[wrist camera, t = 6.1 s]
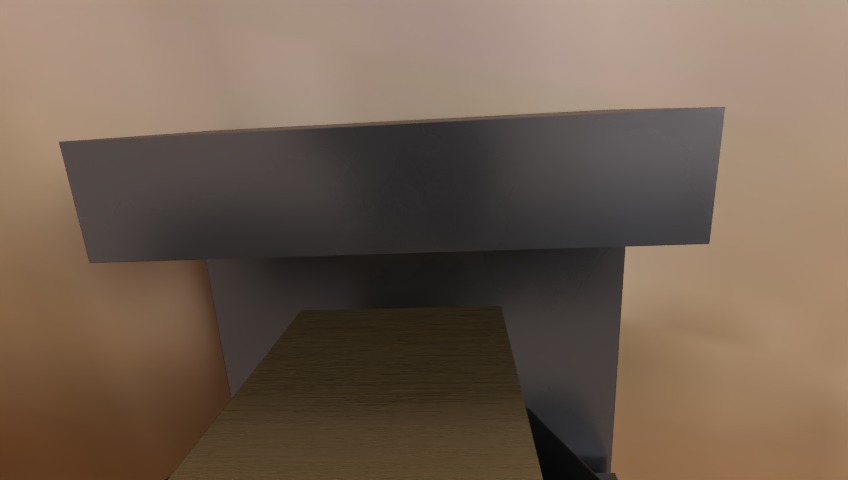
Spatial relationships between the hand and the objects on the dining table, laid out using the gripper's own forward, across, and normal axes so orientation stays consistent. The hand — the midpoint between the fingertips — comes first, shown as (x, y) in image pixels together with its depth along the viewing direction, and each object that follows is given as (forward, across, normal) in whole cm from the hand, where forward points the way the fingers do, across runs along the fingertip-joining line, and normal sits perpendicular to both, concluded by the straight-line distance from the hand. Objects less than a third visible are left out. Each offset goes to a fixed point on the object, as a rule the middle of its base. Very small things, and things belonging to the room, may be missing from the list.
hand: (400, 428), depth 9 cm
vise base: (+4, 0, 0) cm, 4 cm away
